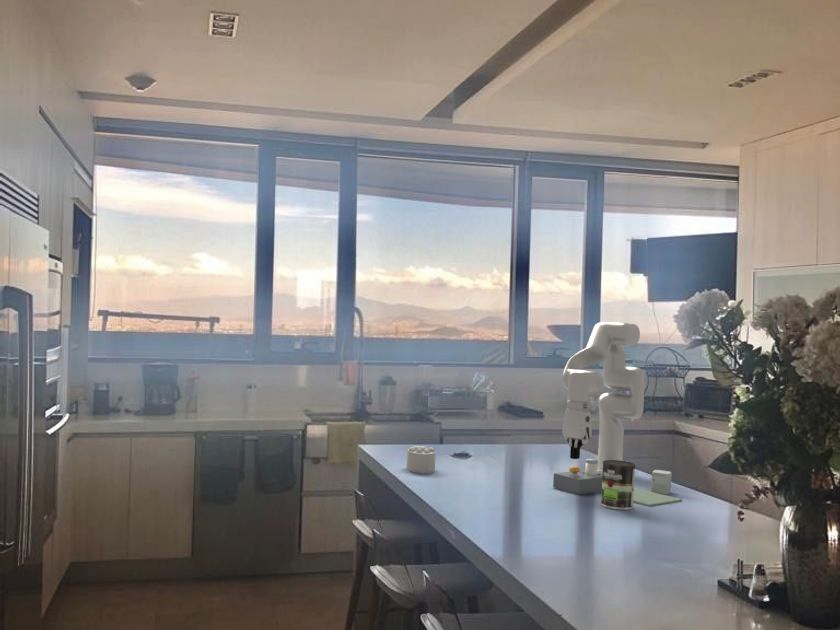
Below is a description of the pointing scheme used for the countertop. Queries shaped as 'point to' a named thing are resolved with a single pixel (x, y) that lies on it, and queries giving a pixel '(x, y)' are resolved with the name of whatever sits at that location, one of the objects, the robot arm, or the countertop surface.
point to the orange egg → (574, 470)
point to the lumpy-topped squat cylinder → (421, 459)
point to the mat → (652, 498)
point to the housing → (578, 482)
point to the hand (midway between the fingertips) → (574, 458)
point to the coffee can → (618, 484)
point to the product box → (661, 481)
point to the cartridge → (591, 467)
